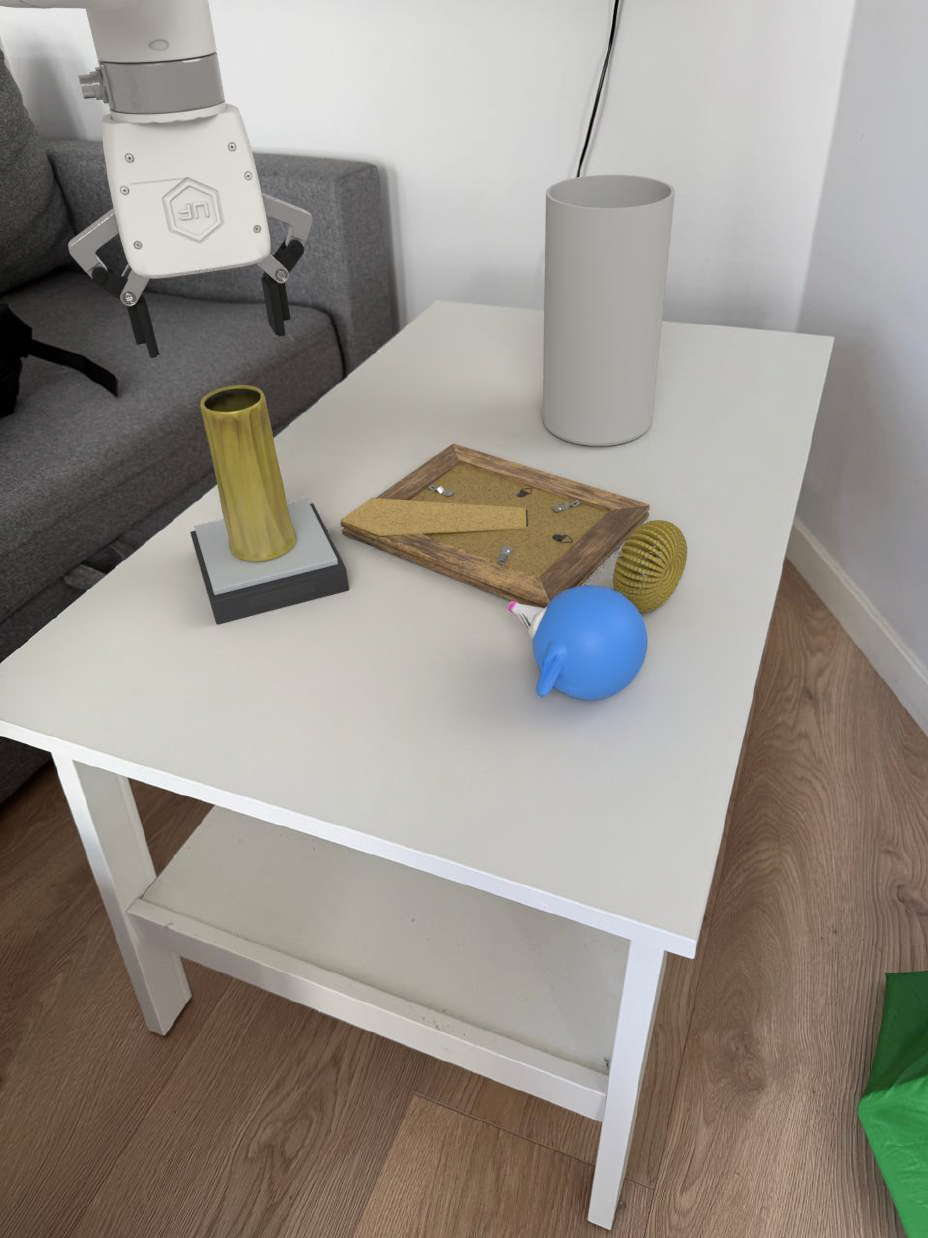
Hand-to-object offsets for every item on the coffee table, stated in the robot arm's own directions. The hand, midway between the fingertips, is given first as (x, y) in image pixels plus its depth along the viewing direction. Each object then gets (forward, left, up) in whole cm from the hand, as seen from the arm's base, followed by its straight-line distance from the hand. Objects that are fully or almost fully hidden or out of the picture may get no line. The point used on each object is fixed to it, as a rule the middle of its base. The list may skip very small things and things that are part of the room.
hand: (216, 340), depth 71 cm
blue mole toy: (+19, -24, -23) cm, 38 cm away
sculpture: (+29, -18, -23) cm, 41 cm away
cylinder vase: (+41, +13, -23) cm, 49 cm away
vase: (0, 0, -19) cm, 19 cm away
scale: (0, 0, -22) cm, 22 cm away
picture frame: (+22, -2, -23) cm, 32 cm away
